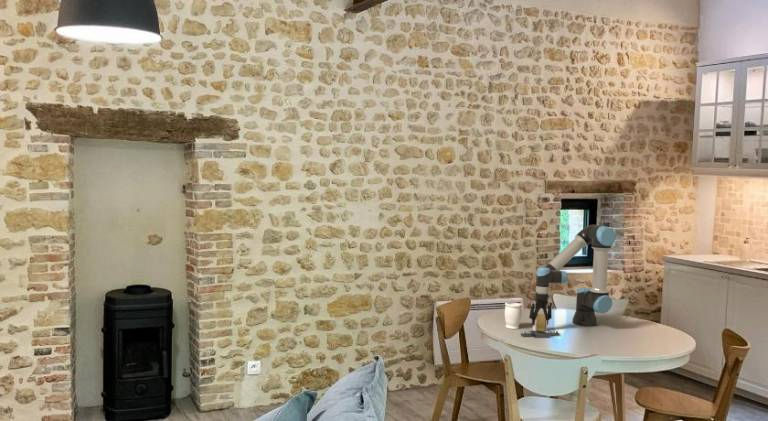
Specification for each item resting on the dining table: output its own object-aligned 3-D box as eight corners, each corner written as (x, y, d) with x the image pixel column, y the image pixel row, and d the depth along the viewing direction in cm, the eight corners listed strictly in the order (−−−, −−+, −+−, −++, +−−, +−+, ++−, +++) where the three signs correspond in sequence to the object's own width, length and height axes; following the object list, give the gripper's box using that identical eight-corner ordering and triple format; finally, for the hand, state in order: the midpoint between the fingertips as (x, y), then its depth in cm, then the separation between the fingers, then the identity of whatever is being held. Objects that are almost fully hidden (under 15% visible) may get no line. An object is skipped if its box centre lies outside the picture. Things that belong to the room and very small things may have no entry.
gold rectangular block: (541, 329, 412) (542, 313, 411) (544, 331, 408) (545, 315, 408) (535, 329, 411) (536, 313, 410) (538, 331, 407) (539, 315, 406)
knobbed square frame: (554, 333, 404) (554, 329, 404) (562, 337, 395) (562, 333, 395) (518, 334, 397) (518, 330, 397) (525, 338, 389) (525, 334, 388)
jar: (520, 330, 408) (522, 306, 407) (503, 328, 410) (504, 304, 409) (520, 326, 419) (522, 302, 417) (504, 324, 421) (505, 301, 420)
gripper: (553, 291, 414) (550, 328, 416) (524, 291, 409) (522, 329, 410) (559, 294, 407) (557, 331, 409) (530, 294, 402) (528, 332, 403)
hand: (539, 330), depth 410 cm, fingers open, 7 cm apart
